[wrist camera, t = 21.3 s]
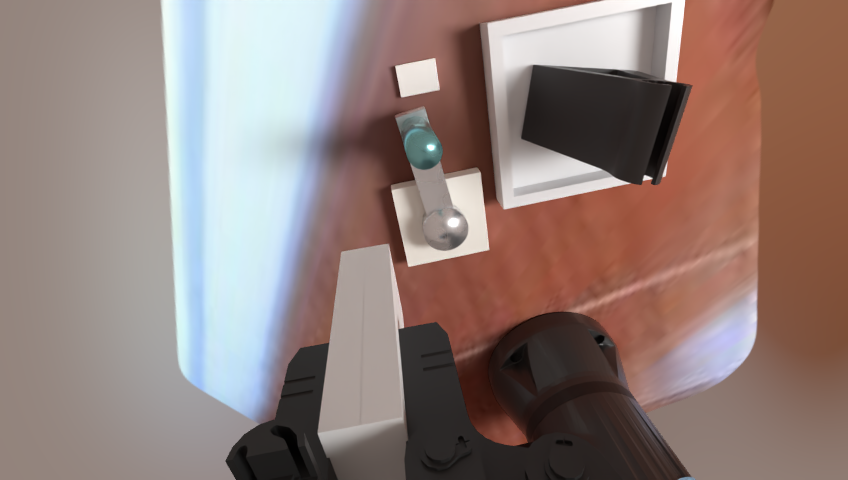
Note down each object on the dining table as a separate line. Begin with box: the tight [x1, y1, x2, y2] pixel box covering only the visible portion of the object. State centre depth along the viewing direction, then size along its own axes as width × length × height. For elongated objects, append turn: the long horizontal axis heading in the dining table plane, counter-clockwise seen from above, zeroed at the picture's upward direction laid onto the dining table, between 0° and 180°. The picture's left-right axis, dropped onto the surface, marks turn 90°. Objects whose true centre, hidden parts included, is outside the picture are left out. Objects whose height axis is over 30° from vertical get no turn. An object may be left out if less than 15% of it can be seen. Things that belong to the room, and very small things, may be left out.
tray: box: [480, 0, 685, 209], centre depth 35 cm, size 15×15×2 cm
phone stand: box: [521, 65, 692, 185], centre depth 30 cm, size 9×6×12 cm, turn 86°
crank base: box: [391, 58, 489, 267], centre depth 37 cm, size 18×8×1 cm, turn 10°
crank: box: [395, 106, 469, 251], centre depth 33 cm, size 12×4×7 cm, turn 17°
